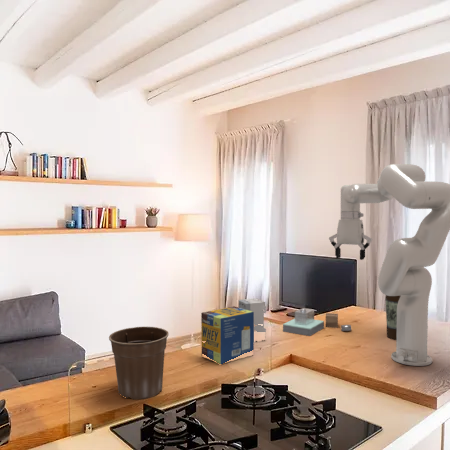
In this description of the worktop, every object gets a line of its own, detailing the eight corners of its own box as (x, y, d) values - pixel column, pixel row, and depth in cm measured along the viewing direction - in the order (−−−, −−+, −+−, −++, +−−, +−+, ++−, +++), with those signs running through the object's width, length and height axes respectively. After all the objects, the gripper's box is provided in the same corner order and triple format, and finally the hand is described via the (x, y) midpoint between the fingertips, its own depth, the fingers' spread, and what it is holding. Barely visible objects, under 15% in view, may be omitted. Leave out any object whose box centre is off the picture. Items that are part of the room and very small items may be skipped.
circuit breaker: (224, 339, 176) (223, 301, 175) (257, 335, 181) (257, 298, 180) (231, 345, 169) (231, 305, 168) (265, 340, 174) (265, 302, 173)
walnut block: (337, 328, 192) (337, 316, 192) (325, 327, 193) (325, 315, 193) (337, 325, 197) (337, 313, 196) (325, 324, 198) (326, 313, 198)
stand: (310, 336, 180) (310, 328, 180) (282, 331, 187) (282, 324, 187) (323, 328, 192) (323, 321, 191) (297, 323, 198) (297, 317, 198)
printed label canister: (397, 331, 185) (397, 270, 184) (420, 338, 176) (421, 274, 175) (379, 335, 180) (380, 273, 179) (402, 342, 171) (403, 276, 170)
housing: (314, 321, 191) (314, 307, 191) (306, 325, 184) (306, 311, 184) (303, 319, 194) (303, 306, 193) (294, 323, 187) (294, 309, 187)
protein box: (200, 357, 156) (200, 312, 155) (234, 348, 165) (234, 305, 165) (220, 365, 148) (220, 318, 147) (254, 355, 157) (254, 310, 157)
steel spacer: (340, 331, 186) (340, 326, 186) (342, 329, 190) (341, 325, 190) (350, 330, 184) (350, 325, 185) (352, 329, 188) (351, 324, 188)
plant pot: (124, 409, 116) (123, 346, 115) (101, 388, 129) (100, 332, 128) (179, 393, 126) (179, 335, 125) (152, 375, 139) (152, 323, 138)
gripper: (374, 216, 180) (374, 259, 181) (332, 215, 190) (332, 256, 191) (369, 216, 174) (368, 261, 175) (326, 216, 184) (325, 258, 185)
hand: (350, 258), depth 183 cm, fingers open, 9 cm apart
